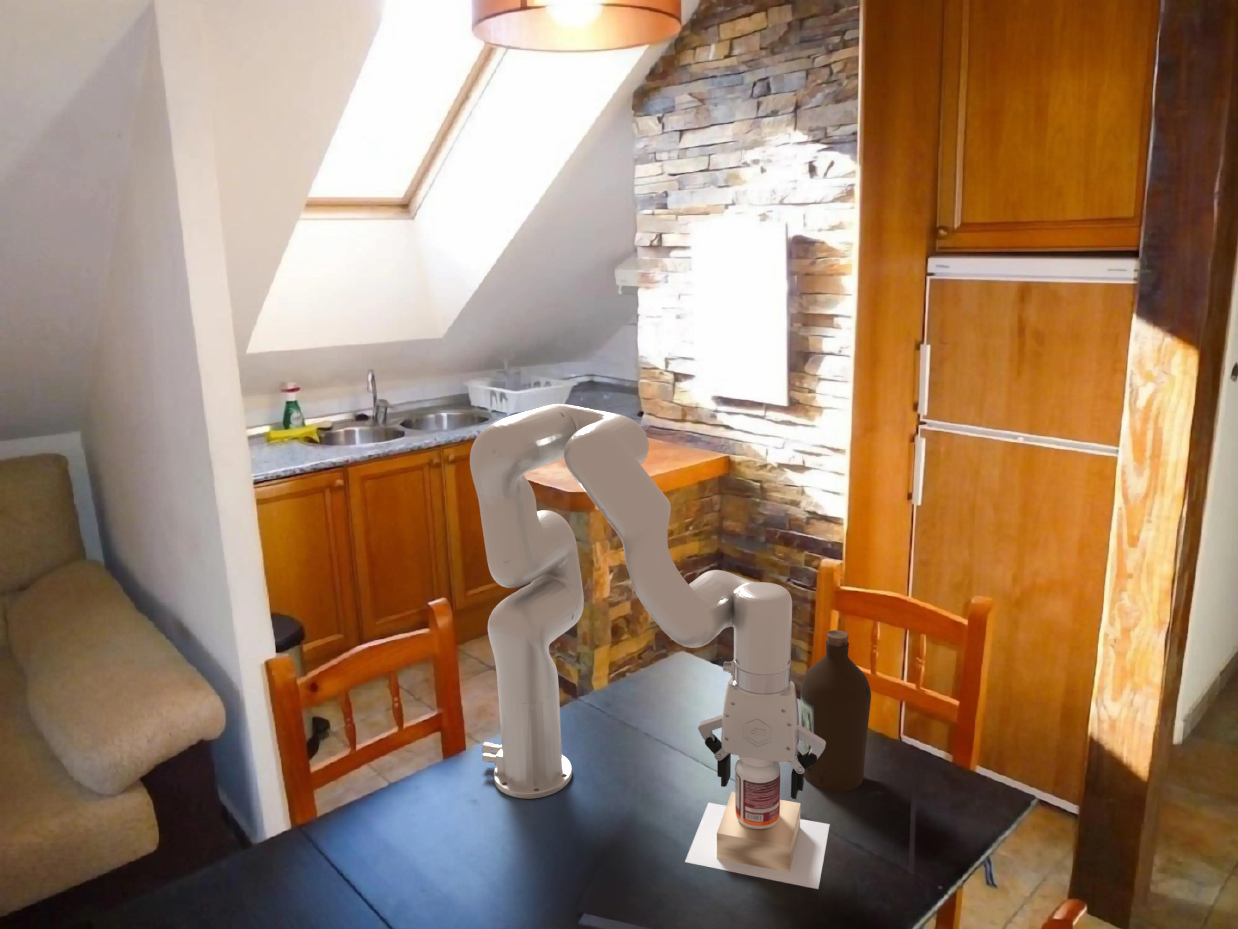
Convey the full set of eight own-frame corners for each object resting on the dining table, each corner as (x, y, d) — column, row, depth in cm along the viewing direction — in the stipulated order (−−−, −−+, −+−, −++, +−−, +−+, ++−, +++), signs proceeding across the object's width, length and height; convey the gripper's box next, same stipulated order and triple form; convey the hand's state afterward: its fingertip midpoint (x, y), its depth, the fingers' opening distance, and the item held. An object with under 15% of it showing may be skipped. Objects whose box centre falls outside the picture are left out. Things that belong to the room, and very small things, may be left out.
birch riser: (716, 858, 124) (716, 833, 123) (731, 815, 133) (731, 791, 132) (789, 873, 120) (790, 847, 119) (799, 827, 130) (800, 803, 129)
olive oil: (859, 761, 147) (865, 619, 141) (873, 800, 137) (880, 649, 131) (794, 760, 148) (797, 619, 142) (803, 799, 138) (807, 649, 132)
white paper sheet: (684, 868, 123) (684, 862, 123) (708, 808, 136) (708, 802, 136) (818, 895, 118) (818, 889, 117) (829, 830, 130) (829, 824, 130)
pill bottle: (788, 820, 125) (790, 748, 122) (755, 837, 122) (756, 762, 119) (758, 798, 130) (759, 728, 127) (726, 814, 127) (726, 742, 124)
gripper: (692, 679, 120) (692, 792, 124) (824, 697, 114) (820, 814, 118) (705, 654, 126) (705, 762, 131) (830, 670, 121) (826, 782, 125)
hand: (759, 787), depth 124 cm, fingers open, 9 cm apart
